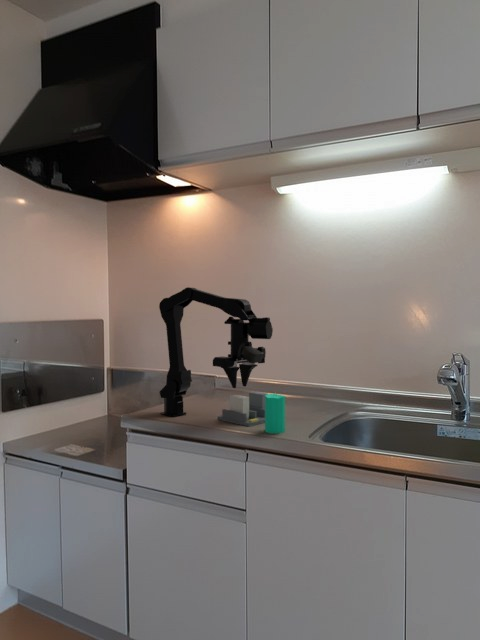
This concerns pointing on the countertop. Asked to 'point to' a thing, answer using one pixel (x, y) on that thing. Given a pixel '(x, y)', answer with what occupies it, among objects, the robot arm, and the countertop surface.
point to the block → (239, 404)
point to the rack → (254, 411)
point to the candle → (274, 413)
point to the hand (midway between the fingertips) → (239, 387)
